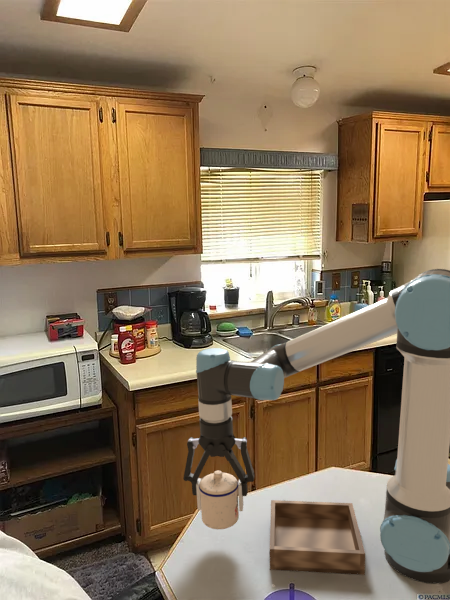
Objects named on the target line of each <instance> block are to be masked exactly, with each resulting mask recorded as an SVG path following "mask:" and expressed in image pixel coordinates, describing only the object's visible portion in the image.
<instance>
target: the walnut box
mask: <svg viewBox="0 0 450 600" xmlns="http://www.w3.org/2000/svg"><path fill="white" fill-rule="evenodd" d="M269 527H270V528H269V530H270V531H269V570H270V571H283V572H284V571H285V572H286V571H287V572H288V571H289V572H303V573H304V572H305V573H320V574H323V573H324V574H340V575H359V576H365V574H366V573H365V572H366V551H365V548H364V544H363V540H362V536H361V532H360V529H359V524H358V519H357V516H356V512H355V507H354V505H353V503H352V502H332V501H331V502H329V501H325V502H324V501H307V500H305V501H303V500H302V501H301V500H281V499H280V500H279V499H275V500H274V499H271V500H270V526H269Z"/></svg>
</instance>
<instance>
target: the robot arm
mask: <svg viewBox="0 0 450 600" xmlns="http://www.w3.org/2000/svg"><path fill="white" fill-rule="evenodd" d="M394 335H396V347H395V348H396V350H397V351H399V352H400V354H401V355H402V356H403V357H404V358H403V359H404V362H403V364H404V365H403V374H402V375H403V376H402V387H401V388H402V389H401V400H400V401H401V402H400V417H399V428H398V429H399V430H398V442H397V443H398V444H397V445H398V446H397V455H396V457H397V458H396V460H395V465H394V468H393V470H394V476H391V477H390V478H389V479H388V480H387V482H386V492H385V503H384V505H385V507H384V515H383V520H382V522H381V524H380V527H379V531H380V534H379V535H380V536H379V537H380V541H381V545H382V548H383V549H384V557H385V559H386V560H387V562H388V563H389V565H390V566H391V567H392V568H393V569H394V570H395V571H396V572H398V573H399V574H401V575H403V576H404V577H406V578H409V579H411V580H413V581H416V582H421V583H426V584H442V583H446V582H449V581H450V463H449V455H450V269H446V268H432V269H429V270H426V271H423V272H422V273H420V274H418V275H417V276H415V277H414V278H412V279H411V280H409V281H408V282H406V283H404V284H402V285H400V286H398V287H397V288H396V287H395V288H394V289H392V290H390V292H389V294H388V295H387V297H385V298H384V299H381V300H379V301H377V302H375V303H373V304H370V305H367V306H365V307H363V308H361V309H359V310H356V311H354V312H351V313H349V314H347V315H344V316H342V317H340V318H338V319H335V320H334V321H331V322H329V323H326V324H325V325H323V326H320V327H318V328H316V329H313V330H310V331H308V332H306V333H303V334H302V335H299V336H297V337H295V338H293V339H290V340H287V342H286V341H285V342H284V343H280V344H275V345H273V346H272V347H269V348H268V349H267V350H266V351H265V352H263V353H262V354H260V355H259V356H257V357H256V358H254V359H253V360H251V361H237V360H232V359H231V357H230V353H229V351H228V350H227V349H224V348H221V347H220V348H219V347H211V348H210V347H209V348H205V349H202V350H200V351H199V352H198V353H197V354H196V359H195V360H196V362H195V363H196V364H195V365H196V370H195V373H196V381H197V383H196V384H197V393H198V394H197V395H198V396H197V401H198V416H199V438H198V437H197V438H194V437H193V436H190V437H188V440H187V442H186V444H187V445H186V446H187V447H186V448H187V451H188V452H187V458H186V463H185V467H184V474H183V481H184V482H190V483H191V491H192V495H193V496H196V502H197V503H196V504H197V511H201V496H200V489H199V484H200V481H201V480H202V477H201V478H200V475H201V473H202V471H203V469H204V467H205V466H206V465H205V464H206V463H207V461H208V459H209V457H212V458H215V457H220V458H223V457H225V459H226V461H227V462H228V463H229V464H230V467H231V468H232V470H233V471H234V473H235V475H236V476H237V477H236V478H238V511H239V512H243V511H244V497H247V495H248V483H253V482H254V481H255V476H256V475H255V470H254V468H253V465H252V461H251V458H250V453H249V450H248V447H247V446H248V444H247V443H248V439H247V437H244V436H243V437H242V438H236V436H235V435H234V425H233V423H234V422H233V416H232V415H233V406H232V405H233V404H232V396H236V397H241V398H242V397H243V398H249V399H256V400H259V401H277V400H278V399H279V398H280V397H281V396H282V392H283V390H284V385H285V379H286V378H288V377H290V376H293V375H295V374H297V373H300V372H302V371H305V370H307V369H310V368H312V367H314V366H317V365H320V364H323V363H325V362H327V361H330V360H332V359H335V358H338V357H340V356H343V355H345V354H349V353H351V352H353V351H356V350H358V349H361V348H363V347H366V346H369V345H371V344H374V343H376V342H378V341H382V340H384V339H386V338H390V337H392V336H394ZM198 445H200V447H201V448H202V449H203V451H204V452H203V453H202V456H201V458H200V461H199V462H198V464H197V466H196V468H195V471H194V473H192V472H191V471H192V468H193V461H194V456H195V451H196V449H197V447H198ZM235 445H236V446H237V449H239V450H240V454H241V458H242V462H243V465H244V469H243V466H242V465H241V463H240V462H239V460H238V458H237V457H236V455H235V453H234V450H233V447H234V446H235ZM245 471H246V472H245Z"/></svg>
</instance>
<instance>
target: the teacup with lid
mask: <svg viewBox="0 0 450 600" xmlns="http://www.w3.org/2000/svg"><path fill="white" fill-rule="evenodd" d="M238 483H239V480H238V479H237V477H235V476H234V475H232V474H231V473H227V472H222V471H221V470H215V471H214V472H213V473H212V472H211V473H210V474H207V475H205V476H203V477H201V481H200V484H199V489H200V496H201V510H200V511H201V520H202V523H203V524H204V525H205V526H206V527H208V528H210V529H213V530H225V529H228V528H231V527H233V526H234V525H235V524H236V523H238V520H239V519H240V518H239V515H240V514H239V513H240V511H239V494H238Z"/></svg>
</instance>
